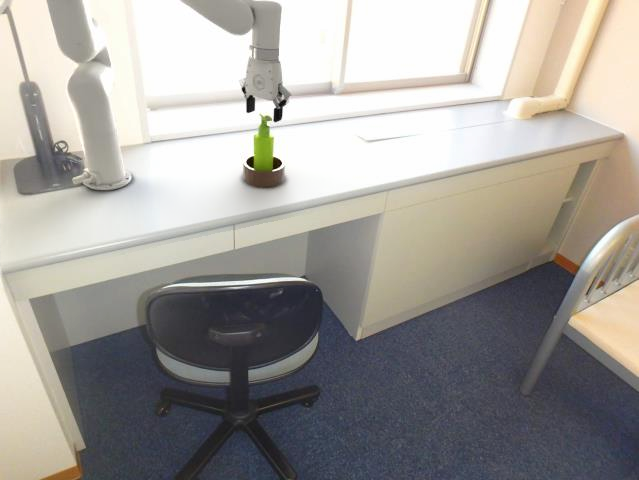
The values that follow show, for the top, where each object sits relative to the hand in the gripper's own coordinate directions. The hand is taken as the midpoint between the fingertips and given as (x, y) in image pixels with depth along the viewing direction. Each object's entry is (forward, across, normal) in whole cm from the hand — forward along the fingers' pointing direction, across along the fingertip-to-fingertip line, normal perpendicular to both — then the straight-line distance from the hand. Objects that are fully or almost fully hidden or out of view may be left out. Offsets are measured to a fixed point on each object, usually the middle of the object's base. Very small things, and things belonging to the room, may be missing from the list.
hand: (263, 116), depth 127 cm
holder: (+20, 0, 0) cm, 20 cm away
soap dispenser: (+20, 0, 0) cm, 20 cm away
